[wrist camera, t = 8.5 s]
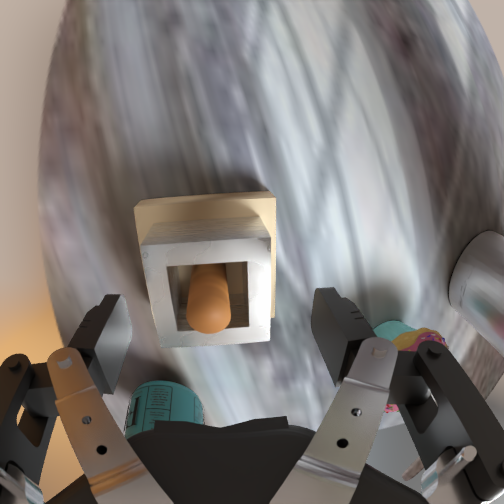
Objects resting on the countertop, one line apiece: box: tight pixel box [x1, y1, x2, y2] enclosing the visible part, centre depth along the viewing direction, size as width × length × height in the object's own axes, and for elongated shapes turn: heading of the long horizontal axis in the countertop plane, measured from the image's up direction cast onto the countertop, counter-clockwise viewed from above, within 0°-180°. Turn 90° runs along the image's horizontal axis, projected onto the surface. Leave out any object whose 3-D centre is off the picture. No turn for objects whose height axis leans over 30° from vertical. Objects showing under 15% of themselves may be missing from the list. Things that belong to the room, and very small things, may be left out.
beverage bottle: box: [123, 381, 205, 439], centre depth 15 cm, size 6×7×20 cm
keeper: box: [134, 191, 276, 334], centre depth 16 cm, size 8×8×7 cm
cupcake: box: [373, 320, 449, 413], centre depth 19 cm, size 9×8×12 cm
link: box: [140, 216, 271, 348], centre depth 16 cm, size 6×6×4 cm
